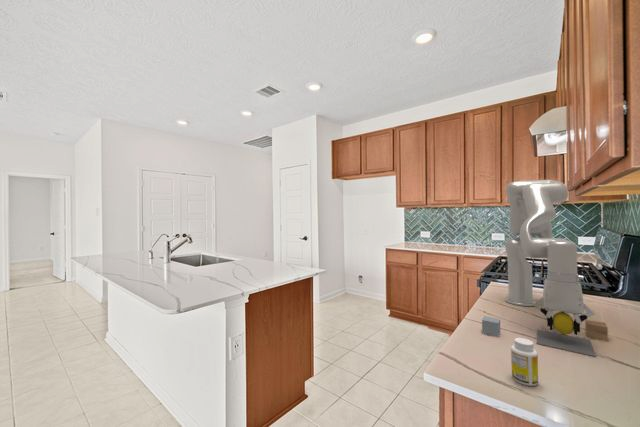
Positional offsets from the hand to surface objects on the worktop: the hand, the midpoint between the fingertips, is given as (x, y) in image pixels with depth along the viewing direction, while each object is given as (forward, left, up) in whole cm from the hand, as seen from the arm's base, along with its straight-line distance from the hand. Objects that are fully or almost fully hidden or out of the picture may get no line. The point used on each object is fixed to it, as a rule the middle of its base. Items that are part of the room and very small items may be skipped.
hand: (563, 330), depth 92 cm
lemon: (0, 0, -2) cm, 2 cm away
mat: (0, 0, -4) cm, 4 cm away
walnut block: (-12, +9, -4) cm, 15 cm away
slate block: (+6, -20, -4) cm, 21 cm away
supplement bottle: (+34, -9, -4) cm, 36 cm away
